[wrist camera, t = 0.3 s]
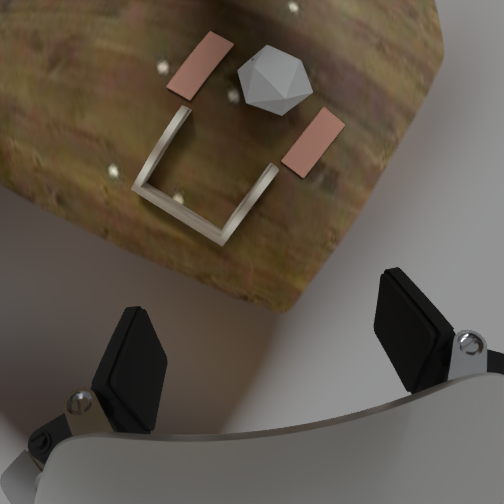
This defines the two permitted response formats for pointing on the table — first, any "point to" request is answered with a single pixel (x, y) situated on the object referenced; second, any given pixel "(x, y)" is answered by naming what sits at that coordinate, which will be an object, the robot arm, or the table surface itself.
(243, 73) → the die
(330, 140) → the mat
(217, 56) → the mat
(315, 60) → the table surface
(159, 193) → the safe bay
